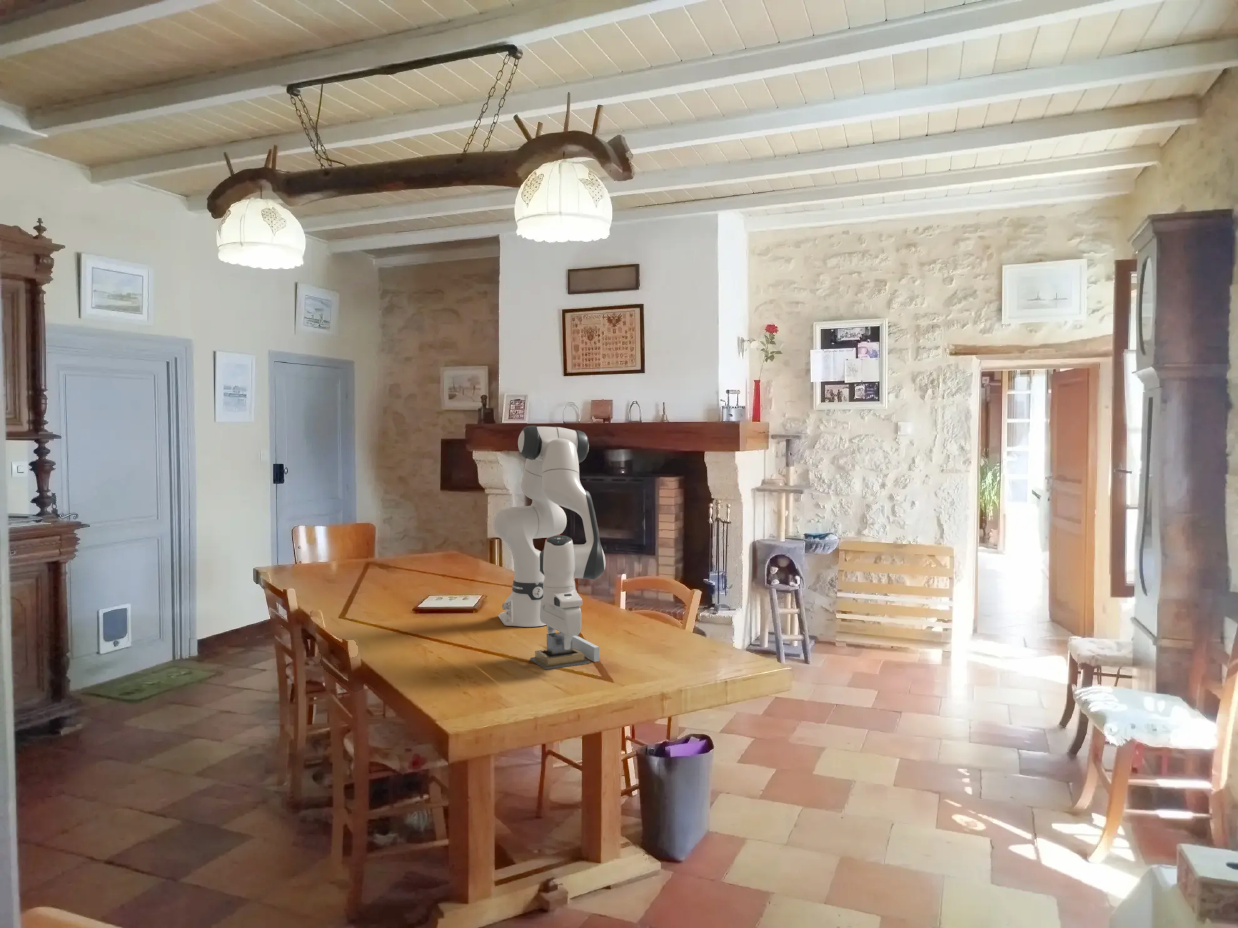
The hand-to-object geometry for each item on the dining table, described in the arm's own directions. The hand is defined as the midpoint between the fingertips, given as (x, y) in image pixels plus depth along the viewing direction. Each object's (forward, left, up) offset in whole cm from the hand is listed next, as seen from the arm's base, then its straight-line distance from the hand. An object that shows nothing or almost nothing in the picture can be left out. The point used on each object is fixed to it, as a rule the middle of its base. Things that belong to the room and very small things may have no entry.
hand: (559, 645), depth 231 cm
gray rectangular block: (0, 0, -4) cm, 4 cm away
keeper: (0, 0, -5) cm, 5 cm away
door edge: (-4, +9, -5) cm, 11 cm away
